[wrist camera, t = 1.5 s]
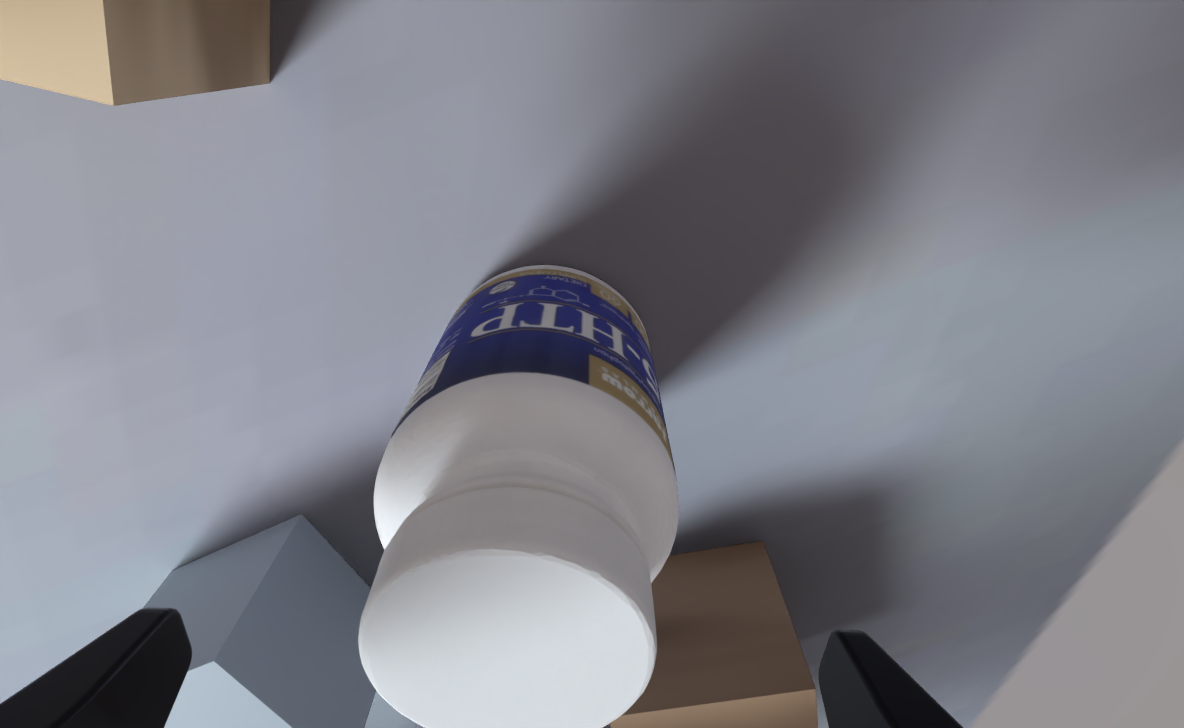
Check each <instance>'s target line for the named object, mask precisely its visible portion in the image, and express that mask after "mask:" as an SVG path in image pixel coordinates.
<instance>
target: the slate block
mask: <svg viewBox="0 0 1184 728" xmlns="http://www.w3.org/2000/svg"><path fill="white" fill-rule="evenodd" d="M370 590H371V588H370V587H369V586H368V585H367V584H366V583H365V582H364V581H363V580H362V579H361V577H360V576H359V575H358V574H357V573H356V572H355V571H354V570H353V569H352V568H351V567H350V566H349V564H348V563H347V562H346V561H345V560H344V559H343V558H342V557H341V556H340V555H339V554H338V553H337V552H336V550H335V549H334V548H333V547H332V546H331V545H330V544H329V543H328V542H327V541H326V540H325V539H324V538H323V536H322V535H321V534H320V533H319V532H318V531H317V530H316V529H315V528H314V527H313V526H312V525H311V524H310V522H309V521H308V520H307V519H306V518H305V517H304V516H303V515H302V514H300V515H297V516H295V517H293V518H291V519H288V520H286V521H284V522H282V523H279V524H277V525H275V526H272V527H270V528H268V529H266V530H263V531H261V532H259V533H256V534H254V535H252V536H250V537H247V538H245V539H243V540H241V541H238V542H236V543H234V544H231V545H229V546H227V547H225V548H222V549H220V550H218V551H215V552H213V553H211V554H209V555H206V556H204V557H202V558H200V559H197V560H195V561H193V562H190V563H188V564H186V565H184V566H181V567H179V568H177V569H174V570H172V571H171V573H170V574H169V575H168V577H167V578H166V579H165V580H164V582H163V583H162V584H161V586H160V587H159V588H158V589H157V591H156V592H155V593H154V595H153V596H152V597H151V598H150V600H149V601H148V602H147V604H146V605H145V606H144V608H147V607H162V608H175V609H176V610H177V611H179V612H180V614H181V617H182V620H183V623H184V626H185V628H186V631H187V634H188V637H189V640H190V643H191V646H192V660H191V664H190V667H189V670H188V672H187V674H186V677H185V679H184V681H183V684H182V686H181V689H180V691H179V693H178V696H177V698H176V701H175V703H174V705H173V708H172V710H171V712H170V715H169V717H168V720H167V722H166V724H165V727H164V728H364V727H365V724H366V720H367V717H368V714H369V711H370V708H371V705H372V702H373V699H374V695H375V692H376V689H375V688H374V687H373V685H372V683H371V682H370V680H369V678H368V676H367V674H366V672H365V670H364V668H363V665H362V662H361V658H360V653H359V644H358V635H359V626H360V620H361V615H362V613H363V610H364V607H365V604H366V601H367V599H368V596H369V593H370Z"/></svg>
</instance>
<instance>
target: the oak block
mask: <svg viewBox="0 0 1184 728" xmlns="http://www.w3.org/2000/svg"><path fill="white" fill-rule="evenodd" d="M0 79H2V80H7V81H11V82H15V83H19V84H24V85H28V86H32V87H36V88H41V89H45V90H49V91H53V92H58V93H62V94H66V95H70V96H75V97H79V98H83V99H87V100H92V101H96V102H100V103H104V104H108V105H113V106H115V105H122V104H129V103H136V102H143V101H150V100H157V99H164V98H171V97H178V96H185V95H192V94H199V93H206V92H213V91H220V90H227V89H233V88H240V87H247V86H254V85H261V84H268V83H270V0H0Z"/></svg>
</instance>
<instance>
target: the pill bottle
mask: <svg viewBox="0 0 1184 728" xmlns="http://www.w3.org/2000/svg"><path fill="white" fill-rule="evenodd" d="M374 515H375V522H376V527H377V531H378V534H379V538H380V541H381V543H382V546H383V548H384V553H383V555H382V558H381V561H380V563H379V566H378V570H377V573H376V576H375V579H374V582H373V585H372V587H371V590H370V593H369V596H368V599H367V601H366V604H365V607H364V610H363V613H362V615H361V620H360V626H359V635H358V644H359V653H360V658H361V662H362V665H363V668H364V670H365V672H366V674H367V676H368V678H369V680H370V682H371V683H372V685H373V687H374V688H375V689H376V691H377V692H378V693H379V694H380V695H381V697H382V698H383V699H384V700H386V701H387V702H388V703H389V704H390V705H391V706H392V707H393V708H394V709H395V710H397V711H398V712H399V713H401V714H402V715H404V716H405V717H407V718H408V719H410V720H412V721H413V722H415V723H417V724H419V725H421V726H422V727H424V728H603V727H605V726H606V725H608V724H609V723H611V722H613V721H614V720H616V719H617V718H619V717H620V716H621V715H622V714H623V713H625V712H626V711H627V710H628V709H629V708H630V707H631V706H632V705H633V704H634V703H635V702H636V700H637V699H638V698H639V697H640V696H641V695H642V694H643V692H644V690H645V689H646V687H647V685H648V683H649V681H650V679H651V676H652V673H653V670H654V666H655V661H656V655H657V638H656V624H655V614H654V604H653V596H652V586H651V583H652V581H653V580H654V579H655V578H656V576H657V575H658V574H659V572H660V571H661V569H662V568H663V566H664V564H665V562H666V560H667V558H668V556H669V554H670V552H671V549H672V546H673V543H674V540H675V537H676V532H677V527H678V522H679V495H678V487H677V480H676V474H675V468H674V463H673V458H672V453H671V449H670V444H669V439H668V434H667V429H666V424H665V419H664V414H663V409H662V404H661V399H660V393H659V388H658V383H657V378H656V373H655V368H654V363H653V358H652V353H651V349H650V345H649V341H648V337H647V334H646V331H645V328H644V326H643V324H642V322H641V320H640V318H639V316H638V315H637V313H636V312H635V310H634V309H633V307H632V306H631V305H630V304H629V303H628V302H627V300H626V299H625V298H624V297H623V296H622V295H620V294H619V293H618V292H617V291H616V290H615V289H613V288H612V287H611V286H609V285H608V284H606V283H605V282H603V281H601V280H600V279H598V278H596V277H594V276H592V275H590V274H588V273H585V272H583V271H579V270H576V269H573V268H568V267H562V266H555V265H534V266H526V267H521V268H517V269H513V270H510V271H507V272H504V273H501V274H499V275H497V276H495V277H493V278H491V279H489V280H488V281H486V282H485V283H483V284H482V285H480V286H479V287H478V288H476V289H475V290H474V291H473V292H472V293H471V294H470V295H469V296H468V297H467V298H466V299H465V300H464V301H463V302H462V303H461V305H460V306H459V307H458V309H457V310H456V312H455V314H454V315H453V317H452V319H451V320H450V322H449V324H448V326H447V328H446V330H445V332H444V334H443V335H442V338H441V340H440V342H439V344H438V345H437V347H436V349H435V351H434V353H433V355H432V357H431V359H430V361H429V363H428V365H427V367H426V369H425V371H424V373H423V375H422V377H421V379H420V381H419V383H418V385H417V387H416V389H415V390H414V392H413V394H412V397H411V399H410V400H409V402H408V404H407V406H406V409H405V411H404V412H403V414H402V416H401V418H400V420H399V423H398V424H397V426H396V428H395V430H394V432H393V433H392V436H391V439H390V440H389V443H388V445H387V448H386V450H385V452H384V455H383V458H382V461H381V463H380V466H379V469H378V473H377V477H376V482H375V489H374Z"/></svg>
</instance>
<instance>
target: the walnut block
mask: <svg viewBox="0 0 1184 728" xmlns="http://www.w3.org/2000/svg"><path fill="white" fill-rule="evenodd" d="M651 586H652V596H653V604H654V614H655V624H656V638H657V655H656V661H655V666H654V670H653V673H652V676H651V679H650V681H649V683H648V685H647V687H646V689H645V690H644V692H643V694H642V695H641V696H640V697H639V698H638V699H637V700H636V702H635V703H634V704H633V705H632V706H631V707H630V708H629V709H628V710H627V711H626V712H625V713H623V714H622V715H621V716H620V717H619V718H617V719H616V720H614V721H613V722H611V723H610V726H611V728H818V722H817V704H816V689H815V686H814V683H813V680H812V677H811V675H810V672H809V669H808V666H807V663H806V661H805V658H804V655H803V652H802V649H801V646H800V644H799V641H798V638H797V635H796V632H795V630H794V627H793V624H792V621H791V618H790V616H789V613H788V610H787V607H786V604H785V602H784V599H783V596H782V593H781V590H780V587H779V585H778V582H777V579H776V576H775V573H774V571H773V568H772V565H771V562H770V559H769V557H768V554H767V551H766V548H765V545H764V542H763V541H758V542H752V543H745V544H739V545H733V546H726V547H720V548H714V549H707V550H701V551H695V552H688V553H682V554H676V555H669V556H668V558H667V560H666V562H665V564H664V566H663V568H662V569H661V571H660V572H659V574H658V575H657V576H656V578H655V579H654V580H653V581H652V583H651Z"/></svg>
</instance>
